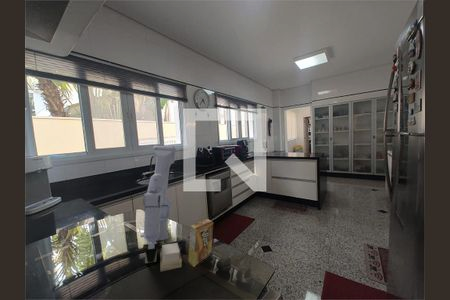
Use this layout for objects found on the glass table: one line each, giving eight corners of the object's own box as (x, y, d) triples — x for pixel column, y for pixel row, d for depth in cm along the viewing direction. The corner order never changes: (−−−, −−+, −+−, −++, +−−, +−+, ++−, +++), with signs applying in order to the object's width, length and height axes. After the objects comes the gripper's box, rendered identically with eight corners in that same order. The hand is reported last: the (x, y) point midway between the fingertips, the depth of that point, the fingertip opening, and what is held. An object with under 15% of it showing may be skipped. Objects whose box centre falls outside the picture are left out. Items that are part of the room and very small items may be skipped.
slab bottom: (160, 258, 69) (160, 251, 69) (178, 255, 72) (179, 248, 72) (160, 272, 62) (160, 265, 62) (181, 268, 65) (181, 260, 65)
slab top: (161, 252, 69) (162, 245, 68) (177, 249, 71) (177, 242, 71) (162, 262, 63) (162, 255, 63) (178, 259, 65) (179, 252, 65)
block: (145, 256, 69) (146, 247, 69) (156, 254, 71) (156, 245, 70) (145, 263, 66) (145, 253, 65) (156, 261, 67) (156, 251, 67)
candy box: (204, 251, 74) (207, 218, 73) (211, 257, 72) (213, 222, 70) (187, 261, 68) (189, 225, 67) (194, 268, 65) (196, 229, 64)
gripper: (142, 214, 72) (141, 245, 73) (139, 233, 59) (138, 270, 60) (160, 212, 75) (158, 242, 76) (161, 230, 61) (159, 266, 62)
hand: (151, 254), depth 68 cm, fingers open, 7 cm apart
